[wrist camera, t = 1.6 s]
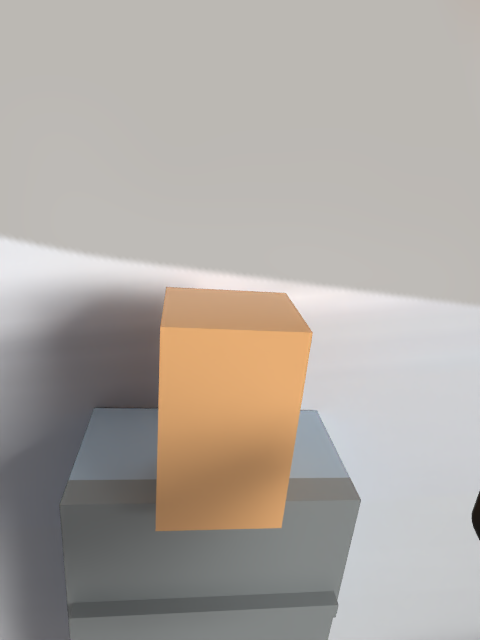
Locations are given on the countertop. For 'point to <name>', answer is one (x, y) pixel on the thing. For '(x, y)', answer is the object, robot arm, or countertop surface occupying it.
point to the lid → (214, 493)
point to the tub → (142, 438)
